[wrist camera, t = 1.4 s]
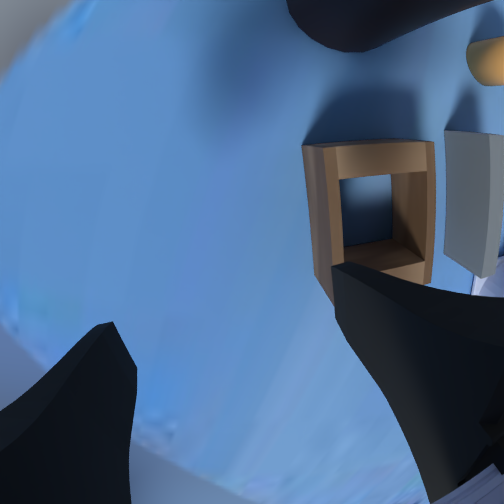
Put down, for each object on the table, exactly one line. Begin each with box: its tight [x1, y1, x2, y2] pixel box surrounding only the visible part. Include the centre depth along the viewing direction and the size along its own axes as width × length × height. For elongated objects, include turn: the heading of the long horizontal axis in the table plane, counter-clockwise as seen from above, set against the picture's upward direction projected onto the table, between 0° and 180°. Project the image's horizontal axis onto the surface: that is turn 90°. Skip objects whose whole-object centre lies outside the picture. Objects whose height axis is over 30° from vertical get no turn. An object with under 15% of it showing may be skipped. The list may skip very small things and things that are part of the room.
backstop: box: [444, 130, 504, 279], centre depth 16 cm, size 2×9×4 cm, turn 9°
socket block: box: [301, 138, 436, 306], centre depth 16 cm, size 6×8×4 cm
